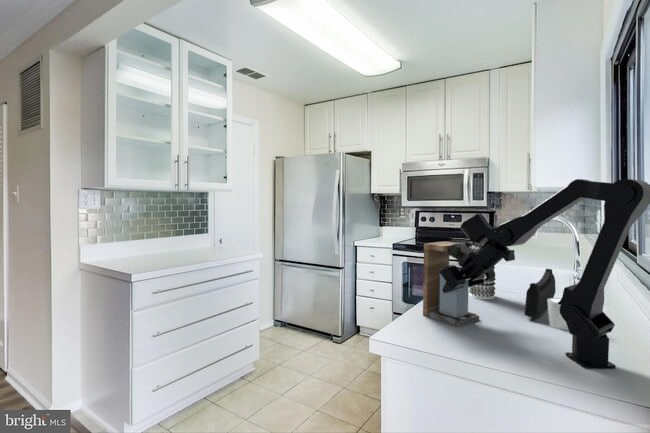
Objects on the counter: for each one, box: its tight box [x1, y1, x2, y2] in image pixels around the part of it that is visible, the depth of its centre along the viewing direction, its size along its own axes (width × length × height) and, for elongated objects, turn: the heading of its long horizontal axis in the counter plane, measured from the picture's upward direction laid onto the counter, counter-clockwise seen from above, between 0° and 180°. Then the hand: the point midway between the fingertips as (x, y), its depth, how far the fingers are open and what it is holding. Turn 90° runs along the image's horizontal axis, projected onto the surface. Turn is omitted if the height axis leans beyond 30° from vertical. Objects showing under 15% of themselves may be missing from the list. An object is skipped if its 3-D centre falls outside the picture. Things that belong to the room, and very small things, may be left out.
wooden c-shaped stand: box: [422, 241, 480, 328], centre depth 106 cm, size 12×10×22 cm
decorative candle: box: [468, 241, 496, 301], centre depth 129 cm, size 9×9×25 cm
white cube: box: [547, 297, 569, 331], centre depth 99 cm, size 7×7×7 cm
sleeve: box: [439, 269, 469, 319], centre depth 105 cm, size 6×6×12 cm
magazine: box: [524, 268, 556, 319], centre depth 114 cm, size 17×3×30 cm
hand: (450, 290), depth 106 cm, fingers closed on sleeve, 5 cm apart
